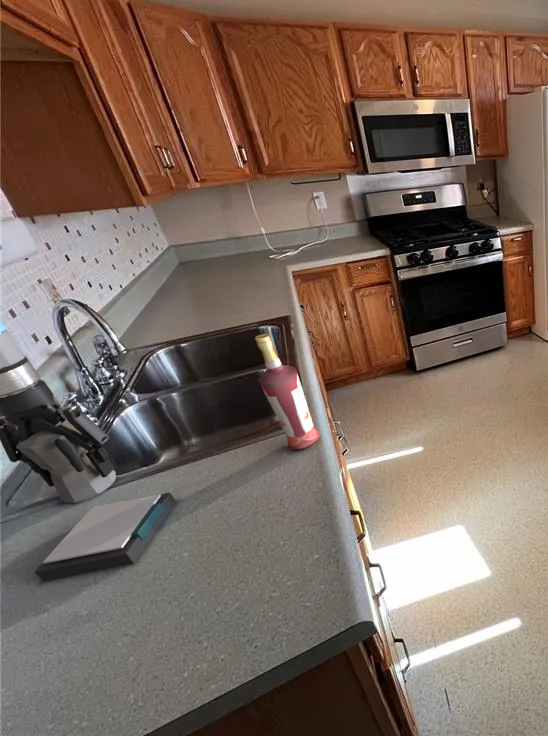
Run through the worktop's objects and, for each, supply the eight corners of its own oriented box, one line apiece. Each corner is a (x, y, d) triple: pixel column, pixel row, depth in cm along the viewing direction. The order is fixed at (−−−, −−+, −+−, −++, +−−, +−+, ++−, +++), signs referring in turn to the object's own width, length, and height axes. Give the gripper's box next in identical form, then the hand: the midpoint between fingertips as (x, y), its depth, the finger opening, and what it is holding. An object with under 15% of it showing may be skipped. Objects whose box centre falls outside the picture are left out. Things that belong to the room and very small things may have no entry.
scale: (43, 581, 70) (30, 569, 68) (99, 515, 82) (90, 503, 80) (135, 563, 72) (125, 550, 70) (177, 501, 84) (169, 489, 82)
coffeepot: (51, 491, 89) (-4, 425, 81) (105, 464, 96) (60, 400, 88) (76, 518, 82) (19, 448, 73) (133, 486, 89) (86, 419, 80)
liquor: (323, 445, 96) (282, 337, 83) (289, 458, 93) (241, 348, 80) (319, 429, 102) (281, 325, 88) (287, 440, 99) (242, 335, 86)
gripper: (94, 368, 81) (149, 455, 92) (-34, 387, 79) (39, 474, 89) (65, 389, 75) (128, 480, 85) (-75, 409, 72) (8, 501, 83)
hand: (83, 477), depth 87 cm, fingers open, 9 cm apart
